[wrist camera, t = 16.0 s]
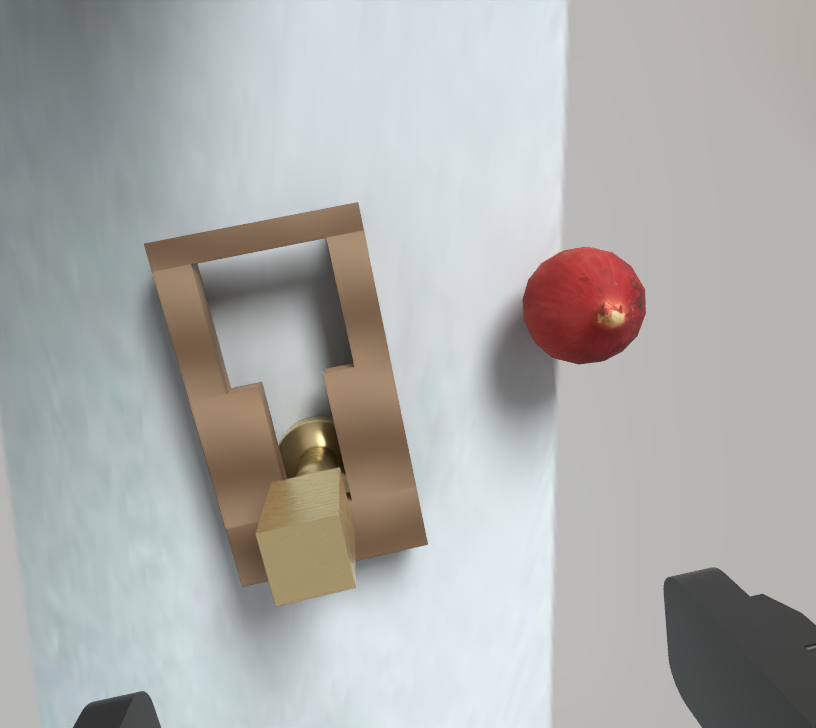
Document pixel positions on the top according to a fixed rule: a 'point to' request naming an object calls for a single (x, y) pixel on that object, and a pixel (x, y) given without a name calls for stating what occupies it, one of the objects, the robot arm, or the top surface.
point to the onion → (584, 305)
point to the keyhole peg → (308, 517)
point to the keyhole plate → (247, 405)
